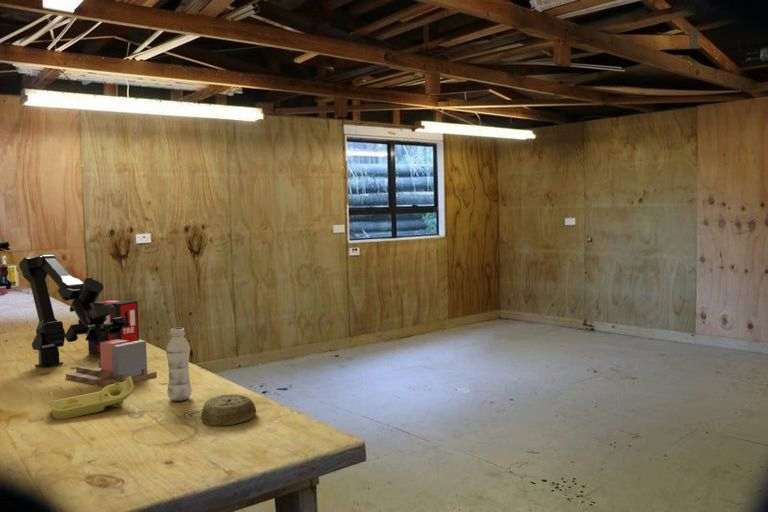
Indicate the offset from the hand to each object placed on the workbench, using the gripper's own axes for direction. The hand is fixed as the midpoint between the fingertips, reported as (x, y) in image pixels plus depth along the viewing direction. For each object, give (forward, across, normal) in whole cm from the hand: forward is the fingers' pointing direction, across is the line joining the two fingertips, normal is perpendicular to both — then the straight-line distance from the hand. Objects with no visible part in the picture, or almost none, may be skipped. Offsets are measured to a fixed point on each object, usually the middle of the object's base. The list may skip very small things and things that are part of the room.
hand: (108, 348), depth 195 cm
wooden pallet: (+7, 0, +6) cm, 9 cm away
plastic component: (+27, -24, -13) cm, 38 cm away
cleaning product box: (-16, +24, +30) cm, 41 cm away
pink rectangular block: (+8, 0, +3) cm, 8 cm away
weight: (+54, -11, -39) cm, 67 cm away
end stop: (+13, 0, -2) cm, 13 cm away
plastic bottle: (+36, -6, -22) cm, 43 cm away
